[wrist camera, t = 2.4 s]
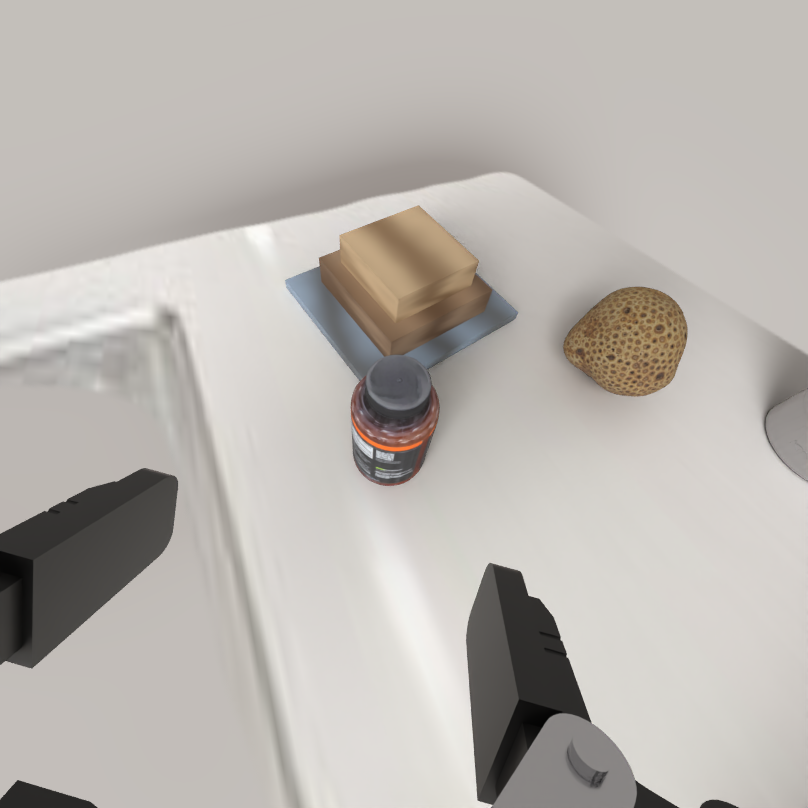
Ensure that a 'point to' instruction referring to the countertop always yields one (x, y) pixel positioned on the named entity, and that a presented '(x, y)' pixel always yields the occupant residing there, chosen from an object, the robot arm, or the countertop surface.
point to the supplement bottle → (393, 419)
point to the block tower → (399, 293)
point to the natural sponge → (629, 341)
